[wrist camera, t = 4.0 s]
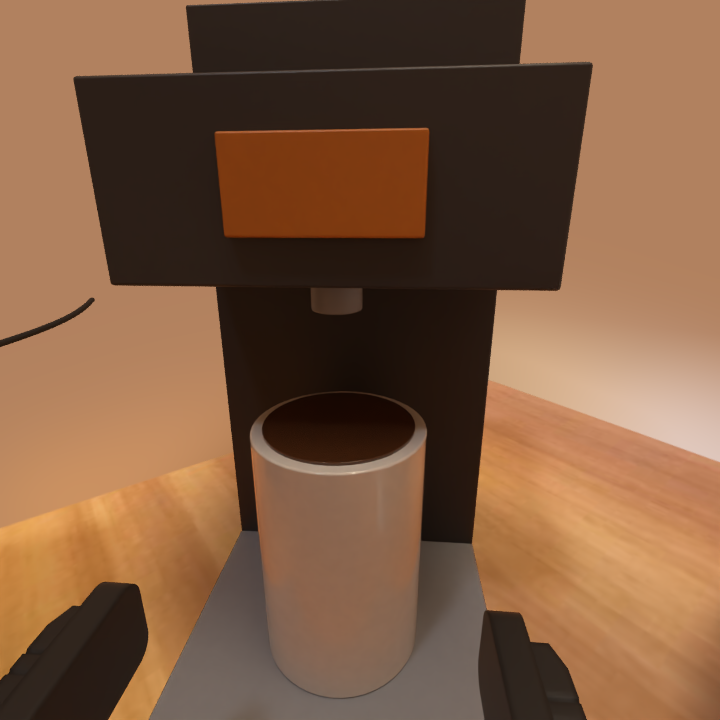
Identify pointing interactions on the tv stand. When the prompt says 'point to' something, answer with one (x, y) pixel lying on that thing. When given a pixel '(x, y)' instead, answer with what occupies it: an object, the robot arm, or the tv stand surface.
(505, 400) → the tv stand surface
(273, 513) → the white cup
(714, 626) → the tv stand surface
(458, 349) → the coffee machine
